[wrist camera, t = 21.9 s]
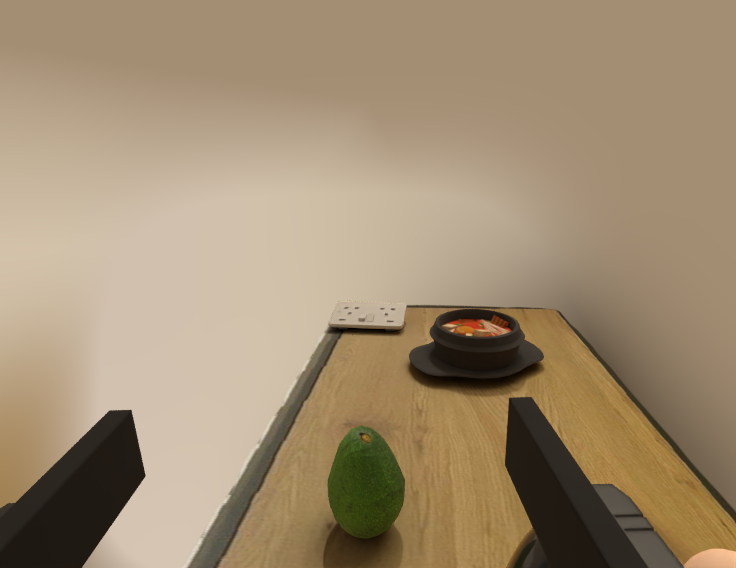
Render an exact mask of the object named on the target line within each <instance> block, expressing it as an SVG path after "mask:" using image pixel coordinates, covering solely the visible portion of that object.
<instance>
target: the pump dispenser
mask: <svg viewBox="0 0 736 568" xmlns="http://www.w3.org/2000/svg"><path fill="white" fill-rule="evenodd" d="M506 568H551V566H550V564H549V562H548V560H547V557H546V555H545V553H544V551H543V549H542V546H541V544H540V542H539V540H538V537H537V535H536V533H535V531H534V529H533V528H532V529H531V530H530V531H529V532H528V533H527V534H526V535H525V537H524V538H523V539H522V541H521V542H520V543H519V545H518V547H517V548H516V550H515V552H514V553H513V555H512V557H511V559H510V561H509V563H508V565H507V567H506Z"/></svg>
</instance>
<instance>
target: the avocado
mask: <svg viewBox="0 0 736 568" xmlns="http://www.w3.org/2000/svg"><path fill="white" fill-rule="evenodd" d="M404 491H405V479H404V477H403V474H402V472H401V469H400V467H399V465H398V463H397V461H396V458H395V456H394V454H393V452H392V451H391V449H390V447H389V446H388V444H387V443H386V441H385V440H384V439H383V438H382V437H381V436H380V435H379V434H378V433H377V432H376V431H374V430H373V429H371V428H368V427H364V426H360V427H357V428H354V429H351V430H350V431H349V432H348V434H347V435H346V436H345V437H344V439H343V440H342V441H341V443H340V445H339V447H338V450H337V453H336V456H335V459H334V462H333V465H332V468H331V472H330V475H329V478H328V497H329V502H330V507H331V509H332V512H333V514H334V517H335V519H336V520H337V522H338V523H339V525H340V526H341V527H342V528H343V529H344V530H345V531H346V532H347V533H349V534H351V535H352V536H354V537H358V538H365V539H368V538H371V537H375V536H378V535H380V534H381V533H383V532H385V531H386V530H387V529H388V528H389V527H390V526H391V525H392V524H393V522H394V521H395V520H396V518H397V517H398V515H399V513H400V510H401V508H402V506H403V501H404Z"/></svg>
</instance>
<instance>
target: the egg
mask: <svg viewBox="0 0 736 568" xmlns="http://www.w3.org/2000/svg"><path fill="white" fill-rule="evenodd" d="M683 567H684V568H736V552H734V551H730V550H726V549H710V550H706V551H703V552H700V553H698V554H696V555H695V556H693V557H691V558H690V559H689V560H688V561H687V562H686V563H685V565H684V566H683Z"/></svg>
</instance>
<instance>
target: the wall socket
mask: <svg viewBox="0 0 736 568" xmlns="http://www.w3.org/2000/svg"><path fill="white" fill-rule="evenodd" d="M405 312H406V303H403V302H363V301H361V302H360V301H338V302H337V304H336V306H335V309H334V311H333V313H332V316H331V318H330V320H329V326H331V327H338V329H344V330H347V329H348V328H359V329H385V330H386V331H395V329H401V328H403V324H404V318H405ZM352 335H353V334H352Z"/></svg>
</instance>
